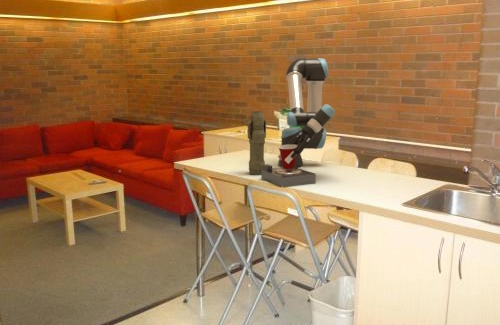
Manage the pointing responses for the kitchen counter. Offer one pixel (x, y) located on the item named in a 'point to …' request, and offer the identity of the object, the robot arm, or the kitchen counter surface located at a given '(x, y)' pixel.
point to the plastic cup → (285, 152)
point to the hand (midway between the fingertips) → (282, 160)
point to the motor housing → (287, 176)
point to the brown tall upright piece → (256, 142)
